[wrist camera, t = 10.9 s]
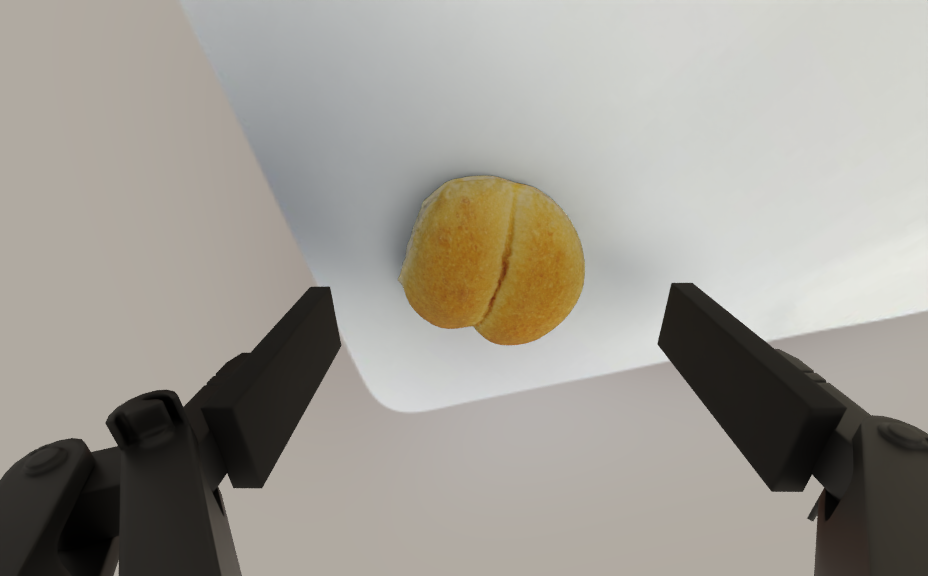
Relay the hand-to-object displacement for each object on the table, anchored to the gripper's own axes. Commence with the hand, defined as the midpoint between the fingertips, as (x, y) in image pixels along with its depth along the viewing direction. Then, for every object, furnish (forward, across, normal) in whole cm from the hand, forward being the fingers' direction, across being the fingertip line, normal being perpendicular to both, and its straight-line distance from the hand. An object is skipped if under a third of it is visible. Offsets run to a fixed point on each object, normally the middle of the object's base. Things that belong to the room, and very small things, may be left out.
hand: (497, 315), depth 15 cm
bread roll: (+6, 0, 0) cm, 6 cm away
